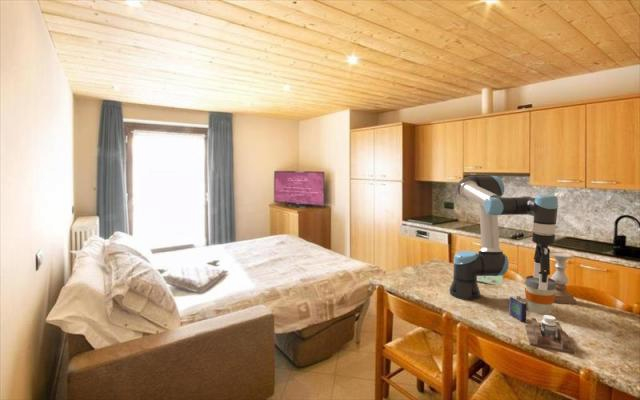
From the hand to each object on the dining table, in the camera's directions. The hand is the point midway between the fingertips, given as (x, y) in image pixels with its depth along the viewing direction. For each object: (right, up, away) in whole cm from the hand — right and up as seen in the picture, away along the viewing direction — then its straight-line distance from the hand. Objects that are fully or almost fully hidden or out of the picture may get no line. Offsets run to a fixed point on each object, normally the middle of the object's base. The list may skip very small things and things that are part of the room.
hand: (539, 283), depth 133 cm
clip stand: (+1, -21, -4) cm, 22 cm away
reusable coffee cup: (+15, -19, +22) cm, 33 cm away
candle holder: (+33, -17, +35) cm, 51 cm away
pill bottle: (+1, -21, -4) cm, 21 cm away
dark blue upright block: (0, -20, +14) cm, 24 cm away
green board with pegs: (+13, -15, +68) cm, 71 cm away
